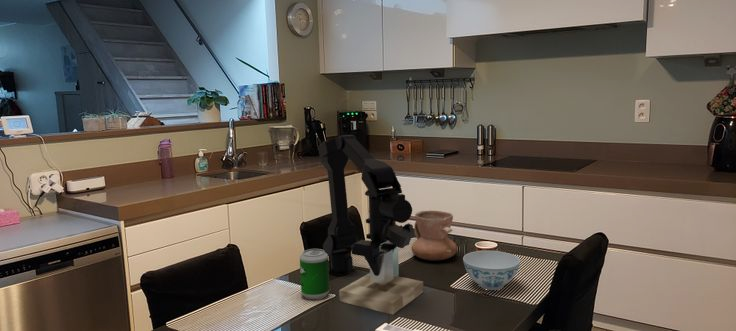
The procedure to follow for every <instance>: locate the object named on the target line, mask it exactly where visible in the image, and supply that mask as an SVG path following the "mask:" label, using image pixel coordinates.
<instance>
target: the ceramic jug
mask: <svg viewBox="0 0 736 331" xmlns="http://www.w3.org/2000/svg"><path fill="white" fill-rule="evenodd" d="M414 218H415V223H414V226H413V230H414V235H415V236H416V240H415V241H413V243H412V245H411V252H412V254H413V255H414V256H416V257H417V258H419V259H422V260H426V261H431V262H432V261H433V262H436V261H438V262H439V261H445V260H448V259H450V258H452V257H453V256H455V254H457V251H458V250H457V249H458V246H457V244H456V243H455V241H454V240H451V238H449V237H448V234H450V233H451V232H453V229H452V228H451V226H452V224H453V220H454V214H453V213H451V212H446V211H442V210H441V211H440V210H431V209H430V210H421V211H418V212H415V213H414Z"/></svg>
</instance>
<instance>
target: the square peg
mask: <svg viewBox="0 0 736 331" xmlns="http://www.w3.org/2000/svg"><path fill="white" fill-rule="evenodd" d="M381 251H382V252H385V253H384V254H383V255H382V256H381V257H380V268H379V275H378V276H375V275H374V273H373V271H372V270H371V268H370V267H369V273H370V281H371V282H376V283H380V284H386V283H388V282H389V281H391V280H393V250H391V249H386V248H381Z"/></svg>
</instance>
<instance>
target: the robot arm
mask: <svg viewBox="0 0 736 331" xmlns="http://www.w3.org/2000/svg"><path fill="white" fill-rule="evenodd" d="M317 150H318V154H319V155H318V156H319V157H320V163H321V165H322V166H323V167H324V168H325V169H326V172H327V180H328V190H329V198H330V210H331V219H332V220H330V221H331V222H330V223H329V226H328V228H327V237H326V239H325V241H324V243H323V244H322V248H323V249H322V250H324V251H325V253H327V254H328V268H329V274H332V275H337V276H342V277H343V276H346V275H348V274H350V273H351V272H353V271H354V270H355V269H356V268H355V267H354V266H353V264H354V262H353V256H352V255H354V256H360V257H364V258H365V260H366V262H367V263H368V266H369V269H370V268H371V270H372V271H373V273H374V275H375V276H378V275H379V268H380V257H381V256H382V255H383V254H384V253H385V252H382V251H381V248H386V249H391V250H393V252H394V250H395V249H396V248H398V249H404V248H405V247H407V246H409V245H410V243H411V240H412V238H414V237H415V230H414V226H413V224H411V223H409V222H408V223H407V221H409V220H410V218H411V217H412V214H413V207H412V204H411V202H410V201H408V200H407V199H406V195H405V194H404V193H403V190H402V188H401V187H402V185H401V184H400V182H399V180H398V177H397V175H396V173H395V169H393V167H392V166H391V165H389V164H387V163H386V162H385V161H382V160H378V159H376V158H375V157H374V156H373V155H371V153H370V152H369V151H368V150H367V149H366V148H365V147H364V146H363V145H362V143H360V142H359V141H358V139H357V136H355V135H354V134H345V135H341V134H340V135H339V136H337V137H335V138H333V139H330V140H323V141H322V142H321V144H320V145H319V146H318V149H317ZM349 160H350V161H351V162H352V163H353V164H354V166H355V167H356V168H357V169H358V170H359V171H360V173H361V177H360V179H361V181H362V182H363V184H364V186H365V187H366V188H367V190H366V191H365V192H364V195H365V196H367V197H368V218H365V223H366V224H368V226H369V230H368V231H369V233H367V234H365V235H366V236H365V237H366V239H367V240H366V239H360V240H358V237H359V236H358V233H357V226H356V224H355V223H353V222H352V221H351V220H350V218H349V217H350V216H349V207H348V195H347V187H346V175H345V168H346V166H347V164H348V162H349ZM397 223H399V224H401V225H398V224H397ZM404 223H406V224H404ZM402 224H404V225H402Z"/></svg>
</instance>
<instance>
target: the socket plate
mask: <svg viewBox="0 0 736 331" xmlns="http://www.w3.org/2000/svg"><path fill="white" fill-rule="evenodd" d="M338 293H339V302H341V303H345V304H350V305H353V306H357V307H361V308H365V309H368V310H373V311H377V312H381V313H383V314H389V315H395V313H397V312H398V311H400V310H401V309H402V308H404V307H405V306H406V305H408V304H409V303H411V302H412V301H413V300H414V299H416V298H418V297H419V296H420V295H422V293H424V281H422V280H419V279H412V278H407V277H402V276H394V275H393V280H391V281H389V282H388V283H386V284H380V283H376V282H371V281H370V272H369V273H367V274H366V275H364V276H362V277H360V278H357V280H355V281H353V282H351V283H349V284H348V285H346V286H344V287H342V288H340V289H339V290H338Z"/></svg>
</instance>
